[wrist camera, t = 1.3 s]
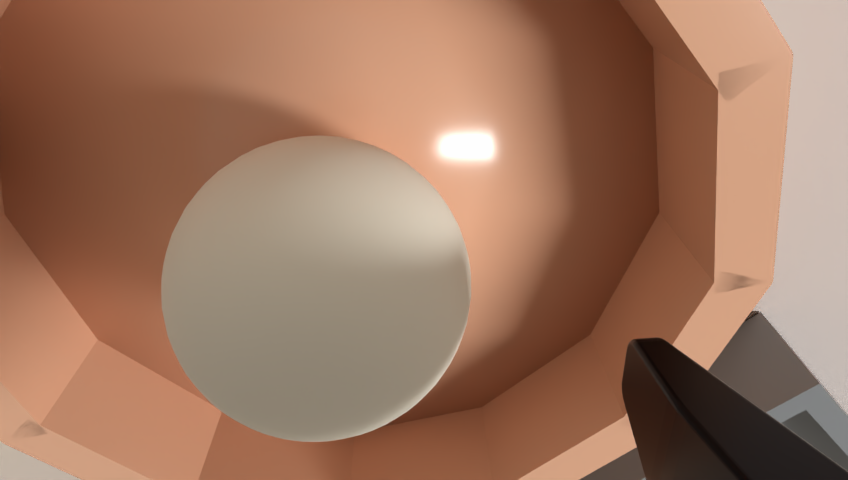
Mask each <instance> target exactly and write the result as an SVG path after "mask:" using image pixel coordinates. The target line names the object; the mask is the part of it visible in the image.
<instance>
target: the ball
mask: <svg viewBox="0 0 848 480" xmlns="http://www.w3.org/2000/svg"><path fill="white" fill-rule="evenodd" d="M470 301H471V271H470V264H469V258H468V252H467V249H466V246H465V242H464V239H463V236H462V234H461V231H460V228H459V225H458V224H457V222H456V220H455V218H454V216H453V214H452V212H451V210H450V209H449V207H448V205H447V204H446V202H445V201H444V200H443V198H442V197H441V196H440V194H439V193H438V191H437V190H436V189H435V188H434V187H433V186H432V185H431V184H430V183H429V182H428V181H427V179H426V178H425V177H423V176H422V175H421V174H420V173H418V172H417V171H416V170H415V169H414V168H412V167H411V166H410V165H409V164H407V163H406V162H404V161H403V160H401V159H399V158H398V157H396V156H395V155H393V154H391V153H389V152H387V151H385V150H383V149H381V148H378V147H376V146H374V145H371V144H368V143H364V142H361V141H358V140H354V139H349V138H343V137H338V136H322V135H316V136H300V137H295V138H290V139H284V140H280V141H276V142H273V143H270V144H267V145H263V146H260V147H258V148H256V149H254V150H252V151H249V152H247V153H245V154H243V155H241V156H240V157H238V158H237V159H235V160H234V161H232V162H231V163H229V164H228V165H226V166H225V167H223V168H222V169H221V170H219V171H218V172H217V173H216V174H215V175H213V176H212V177H211V178H210V179H209V180H208V181H207V182H206V183H205V184H204V185H203V186H202V187H201V188H200V190H199V191H198V192H197V193H196V194H195V196H194V197H193V198H192V200H191V201H190V202H189V204H188V205H187V206H186V208H185V210H184V211H183V213H182V215H181V217H180V219H179V221H178V223H177V225H176V227H175V229H174V231H173V233H172V235H171V238H170V241H169V244H168V247H167V251H166V255H165V259H164V263H163V270H162V278H161V302H162V312H163V317H164V321H165V326H166V331H167V335H168V338H169V341H170V343H171V346H172V349H173V351H174V353H175V355H176V357H177V359H178V361H179V363H180V365H181V366H182V368H183V370H184V372H185V374H186V375H187V376H188V378H189V379H190V380H191V382H192V383H193V384H194V385H195V387H196V388H197V389H198V390H199V391H200V392H201V393H202V394H203V395H204V396H205V397H206V398H207V399H208V400H209V402H210V403H211V404H213V405H214V406H215V407H216V408H218V409H219V410H220V411H221V412H223V413H224V414H226V415H227V416H229V417H231V418H232V419H234V420H235V421H237V422H239V423H241V424H243V425H245V426H247V427H249V428H251V429H253V430H256V431H258V432H261V433H263V434H266V435H270V436H273V437H277V438H281V439H286V440H293V441H302V442H324V441H334V440H340V439H345V438H350V437H354V436H358V435H362V434H364V433H367V432H370V431H373V430H375V429H377V428H380V427H382V426H384V425H386V424H388V423H389V422H391V421H393V420H394V419H396V418H398V417H399V416H401V415H403V414H404V413H406V412H407V411H408V410H410V409H411V408H412V407H413V406H415V405H416V404H417V403H418V402H419V401H420V400H421V399H422V398H423V397H424V396H425V395H426V394H427V393H428V392H429V391H430V390H431V389H432V388H433V387H434V386H435V385H436V384H437V382H438V381H439V380H440V378H441V377H442V375H443V374H444V373H445V371H446V369H447V368H448V366H449V365H450V363H451V362H452V360H453V358H454V356H455V354H456V352H457V350H458V347H459V345H460V342H461V340H462V337H463V334H464V331H465V328H466V325H467V320H468V314H469V307H470Z"/></svg>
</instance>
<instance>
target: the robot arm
mask: <svg viewBox="0 0 848 480" xmlns="http://www.w3.org/2000/svg"><path fill="white" fill-rule="evenodd" d="M622 396H623V400H624V404H625V408H626V411H627V415H628V418H629V422H630V425H631V429H632V432H633V436H634V439H635V443H636V446H637V450H638V454H639V457H640V461H641V464H642V468H643V471H644V475H645V478H646V480H848V471H847V470H845V469H844V468H843V467H841V466H840V465H839V464H837V463H836V462H834V461H833V460H832V459H830V458H829V457H827V456H826V455H825V454H823V453H822V452H820V451H819V450H818V449H816V448H815V447H813V446H812V445H811V444H809V443H808V442H807V441H805V440H804V439H802V438H801V437H800V436H798V435H797V434H795V433H794V432H793V431H791V430H790V429H788V428H787V427H786V426H784V425H783V424H781V423H780V422H779V421H777V420H776V419H775V418H773V417H772V416H770V415H769V414H768V413H766V412H765V411H763V410H762V409H761V408H759V407H758V406H756V405H755V404H754V403H752V402H751V401H749V400H748V399H747V398H745V397H744V396H742V395H741V394H740V393H738V392H737V391H736V390H734V389H733V388H731V387H730V386H729V385H727V384H726V383H724V382H723V381H722V380H720V379H719V378H717V377H716V376H715V375H713V374H712V373H710V372H709V371H708V370H706V369H705V368H704V367H702V366H701V365H699V364H698V363H697V362H695V361H694V360H692V359H691V358H690V357H688V356H687V355H685V354H684V353H683V352H681V351H680V350H678V349H677V348H676V347H674V346H673V345H671V344H670V343H669V342H667V341H666V340H664V339H662V338H658V337H654V338H640V339H633V340H631V341H630V342H629V344H628V346H627V351H626V357H625V364H624V370H623V377H622Z"/></svg>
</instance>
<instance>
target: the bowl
mask: <svg viewBox="0 0 848 480" xmlns="http://www.w3.org/2000/svg"><path fill="white" fill-rule="evenodd" d="M792 53H793V52H792V50H791V49H790V47H789V45H788V44H787V42H786V40H785V39H784V37H783V36H782V34H781V32H780V31H779V29H778V27H777V26H776V24H775V22H774V21H773V19H772V17H771V16H770V14H769V12H768V11H767V9H766V8H765V6H764V4H763V3H762V1H761V0H0V441H1V442H2V443H4V444H6V445H8V446H10V447H12V448H14V449H17V450H19V451H21V452H23V453H25V454H27V455H30V456H32V457H34V458H36V459H38V460H40V461H43V462H45V463H47V464H49V465H51V466H53V467H56V468H58V469H60V470H62V471H64V472H66V473H69V474H71V475H73V476H75V477H77V478H79V479H82V480H579V479H581V478H583V477H585V476H586V475H588V474H590V473H592V472H594V471H595V470H597V469H599V468H601V467H602V466H604V465H606V464H608V463H610V462H611V461H613V460H615V459H617V458H618V457H620V456H622V455H624V454H626V453H627V452H629V451H631V450H633V449H634V448H636V447H637V446H636V443H635V439H634V436H633V432H632V429H631V425H630V422H629V418H628V415H627V411H626V408H625V404H624V400H623V396H622V377H623V370H624V364H625V357H626V351H627V346H628V344H629V342H630V341H631V340H633V339H640V338H654V337H658V338H662V339H664V340H666V341H667V342H669V343H670V344H671V345H673V346H674V347H676V348H677V349H678V350H680V351H681V352H683V353H684V354H685V355H687V356H688V357H690V358H691V359H692V360H694V361H695V362H697V363H698V364H699V365H701V366H702V367H704V368H705V369H706V370H709V368H710V367H711V365H712V364H713V363H714V361H715V360H716V359H717V357H718V356H719V355H720V353H721V352H722V351H723V349H724V348H725V346H726V345H727V344H728V342H729V341H730V340H731V338H732V337H733V336H734V334H735V333H736V332H737V330H738V329H739V327H740V326H741V325H742V323H743V322H744V321H745V319H746V318H747V317H748V315H749V314H750V313H751V311H752V310H753V308H754V307H755V306H756V304H757V303H758V302H759V300H760V299H761V298H762V296H763V295H764V294H765V292H766V291H767V289H768V288H769V287H770V285H771V284H772V282H773V274H774V263H775V252H776V241H777V230H778V219H779V208H780V196H781V185H782V174H783V163H784V152H785V141H786V130H787V119H788V108H789V97H790V85H791V74H792V63H793V54H792ZM316 135H322V136H338V137H343V138H349V139H354V140H358V141H361V142H364V143H368V144H371V145H374V146H376V147H378V148H381V149H383V150H385V151H387V152H389V153H391V154H393V155H395V156H396V157H398V158H399V159H401V160H403V161H404V162H406V163H407V164H409V165H410V166H411V167H412V168H414V169H415V170H416V171H417V172H418V173H420V174H421V175H422V176H423V177H425V178H426V179H427V181H428V182H429V183H430V184H431V185H432V186H433V187H434V188H435V189H436V190H437V191H438V193H439V194H440V196H441V197H442V198H443V200H444V201H445V202H446V204H447V205H448V207H449V209H450V210H451V212H452V214H453V216H454V218H455V220H456V222H457V224H458V225H459V228H460V231H461V234H462V236H463V239H464V242H465V246H466V249H467V252H468V258H469V264H470V271H471V301H470V307H469V314H468V320H467V325H466V328H465V331H464V334H463V337H462V340H461V342H460V345H459V347H458V350H457V352H456V354H455V356H454V358H453V360H452V362H451V363H450V365H449V366H448V368H447V369H446V371H445V373H444V374H443V375H442V377H441V378H440V380H439V381H438V382H437V384H436V385H435V386H434V387H433V388H432V389H431V390H430V391H429V392H428V393H427V394H426V395H425V396H424V397H423V398H422V399H421V400H420V401H419V402H418V403H417V404H416V405H415V406H413V407H412V408H411V409H410V410H408V411H407V412H406V413H404V414H403V415H401V416H399V417H398V418H396V419H394V420H393V421H391V422H389V423H388V424H386V425H384V426H382V427H380V428H377V429H375V430H373V431H370V432H367V433H364V434H362V435H358V436H354V437H350V438H345V439H340V440H334V441H324V442H302V441H293V440H286V439H281V438H277V437H273V436H270V435H266V434H263V433H261V432H258V431H256V430H253V429H251V428H249V427H247V426H245V425H243V424H241V423H239V422H237V421H235V420H234V419H232V418H231V417H229V416H227V415H226V414H224V413H223V412H221V411H220V410H219V409H218V408H216V407H215V406H214V405H213V404H211V403H210V402H209V400H208V399H207V398H206V397H205V396H204V395H203V394H202V393H201V392H200V391H199V390H198V389H197V388H196V387H195V385H194V384H193V383H192V382H191V380H190V379H189V378H188V376H187V375H186V374H185V372H184V370H183V368H182V366H181V365H180V363H179V361H178V359H177V357H176V355H175V353H174V351H173V349H172V346H171V343H170V341H169V338H168V335H167V331H166V326H165V321H164V317H163V312H162V302H161V278H162V270H163V263H164V259H165V255H166V251H167V247H168V244H169V241H170V238H171V235H172V233H173V231H174V229H175V227H176V225H177V223H178V221H179V219H180V217H181V215H182V213H183V211H184V210H185V208H186V206H187V205H188V204H189V202H190V201H191V200H192V198H193V197H194V196H195V194H196V193H197V192H198V191H199V190H200V188H201V187H202V186H203V185H204V184H205V183H206V182H207V181H208V180H209V179H210V178H211V177H212V176H213V175H215V174H216V173H217V172H218V171H219V170H221V169H222V168H223V167H225V166H226V165H228V164H229V163H231V162H232V161H234V160H235V159H237V158H238V157H240V156H241V155H243V154H245V153H247V152H249V151H252V150H254V149H256V148H258V147H260V146H263V145H267V144H270V143H273V142H276V141H280V140H284V139H290V138H295V137H300V136H316Z"/></svg>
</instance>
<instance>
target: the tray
mask: <svg viewBox="0 0 848 480" xmlns="http://www.w3.org/2000/svg"><path fill="white" fill-rule="evenodd" d="M708 371H709V372H710V373H712V374H713V375H715V376H716V377H717V378H719V379H720V380H722V381H723V382H724V383H726V384H727V385H729V386H730V387H731V388H733V389H734V390H736V391H737V392H738V393H740V394H741V395H742V396H744V397H745V398H747V399H748V400H749V401H751V402H752V403H754V404H755V405H756V406H758V407H759V408H761V409H762V410H763V411H765V412H766V413H768V414H769V415H770V416H772V417H773V418H775V419H776V420H777V421H779V422H780V423H781V424H783V425H784V426H786V427H787V428H788V429H790V430H791V431H793V432H794V433H795V434H797V435H798V436H800V437H801V438H802V439H804V440H805V441H807V442H808V443H809V444H811V445H812V446H813V447H815V448H816V449H818V450H819V451H820V452H822V453H823V454H825V455H826V456H827V457H829V458H830V459H832V460H833V461H834V462H836V463H837V464H839V465H840V466H841V467H843V468H844V469H845V470H847V471H848V415H847V414H846V412H845V411H844V410H843V409H842V408H841V406H840V405H839V404H838V403H837V402H836V401H835V399H834V398H833V397H832V396H831V395H830V393H829V392H828V391H827V390H826V389H825V388H824V386H823V385H822V384H821V383H820V382H819V381H818V379H817V378H816V377H815V376H814V375H813V373H812V372H811V371H810V370H809V369H808V368H807V366H806V365H805V364H804V363H803V362H802V360H801V359H800V358H799V357H798V356H797V355H796V353H795V352H794V351H793V350H792V349H791V348H790V346H789V345H788V344H787V343H786V342H785V340H784V339H783V338H782V337H781V336H780V335H779V333H778V332H777V331H776V330H775V329H774V327H773V326H772V325H771V324H770V323H769V322H768V320H767V319H766V318H765V317H764V316H763V315H762V313H761V312H760V313H758V314H757V315H755V316H753V317H752V318H750V319H748V320H747V321H745V322H743V323H742V325H741V326H740V327H739V329H738V330H737V332H736V333H735V334H734V336H733V337H732V338H731V340H730V341H729V342H728V344H727V345H726V346H725V348H724V349H723V351H722V352H721V353H720V355H719V356H718V357H717V359H716V360H715V361H714V363H713V364H712V365H711V367H710V368H709V370H708ZM579 480H646V478H645V475H644V471H643V468H642V464H641V461H640V457H639V454H638V450H637V447H636V448H634V449H633V450H631V451H629V452H627V453H626V454H624V455H622V456H620V457H618V458H617V459H615V460H613V461H611V462H610V463H608V464H606V465H604V466H602V467H601V468H599V469H597V470H595V471H594V472H592V473H590V474H588V475H586V476H585V477H583V478H581V479H579Z"/></svg>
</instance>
